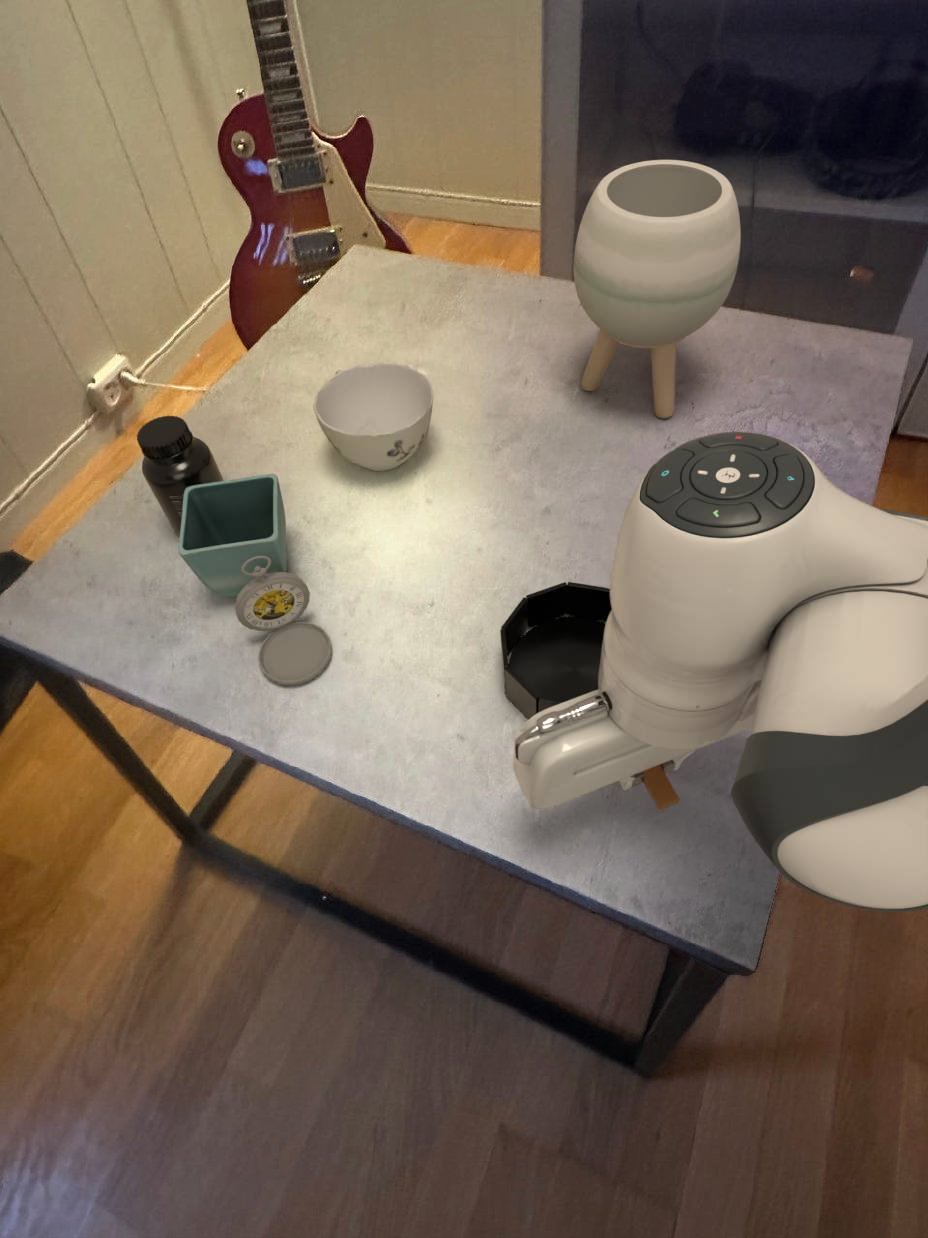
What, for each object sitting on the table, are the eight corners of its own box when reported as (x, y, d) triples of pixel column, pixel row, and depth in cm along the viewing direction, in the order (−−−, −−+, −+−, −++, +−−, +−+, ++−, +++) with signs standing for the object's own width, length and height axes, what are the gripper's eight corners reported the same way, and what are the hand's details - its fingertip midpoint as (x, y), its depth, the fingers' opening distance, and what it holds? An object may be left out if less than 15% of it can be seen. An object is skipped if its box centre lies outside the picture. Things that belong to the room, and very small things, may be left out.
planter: (539, 390, 90) (541, 193, 72) (631, 332, 95) (654, 136, 77) (644, 454, 82) (675, 251, 64) (737, 386, 87) (790, 182, 69)
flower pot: (300, 535, 78) (277, 470, 71) (302, 601, 73) (277, 538, 66) (216, 549, 78) (183, 485, 71) (212, 616, 73) (176, 555, 66)
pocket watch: (304, 699, 66) (272, 633, 58) (231, 662, 69) (192, 595, 61) (356, 632, 70) (334, 561, 62) (286, 599, 73) (256, 528, 65)
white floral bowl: (461, 460, 83) (455, 400, 77) (363, 510, 80) (349, 452, 73) (393, 394, 91) (382, 335, 85) (301, 437, 88) (282, 378, 81)
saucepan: (736, 796, 58) (750, 770, 55) (584, 859, 56) (587, 836, 53) (608, 597, 71) (612, 565, 67) (479, 642, 69) (476, 612, 65)
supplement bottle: (248, 502, 82) (210, 412, 72) (220, 548, 78) (176, 460, 68) (192, 493, 83) (148, 404, 74) (162, 538, 80) (111, 450, 70)
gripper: (536, 778, 42) (535, 862, 53) (851, 656, 45) (788, 759, 56) (493, 688, 46) (501, 784, 57) (787, 581, 49) (740, 692, 60)
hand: (646, 771), depth 56 cm, fingers closed on saucepan
